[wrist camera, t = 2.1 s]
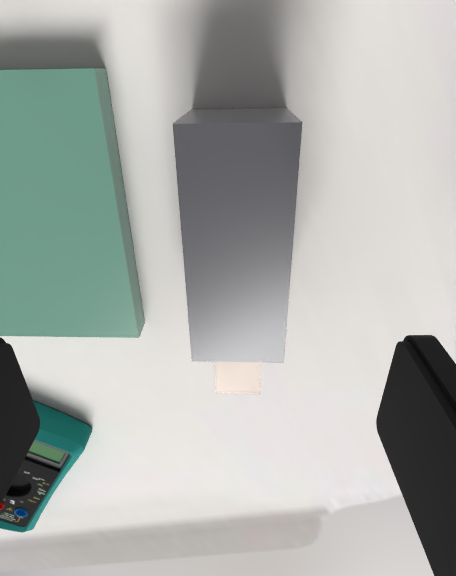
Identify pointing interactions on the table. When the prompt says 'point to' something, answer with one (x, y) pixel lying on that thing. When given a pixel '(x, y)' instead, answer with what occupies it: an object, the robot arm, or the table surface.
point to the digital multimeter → (43, 468)
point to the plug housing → (237, 235)
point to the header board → (63, 209)
